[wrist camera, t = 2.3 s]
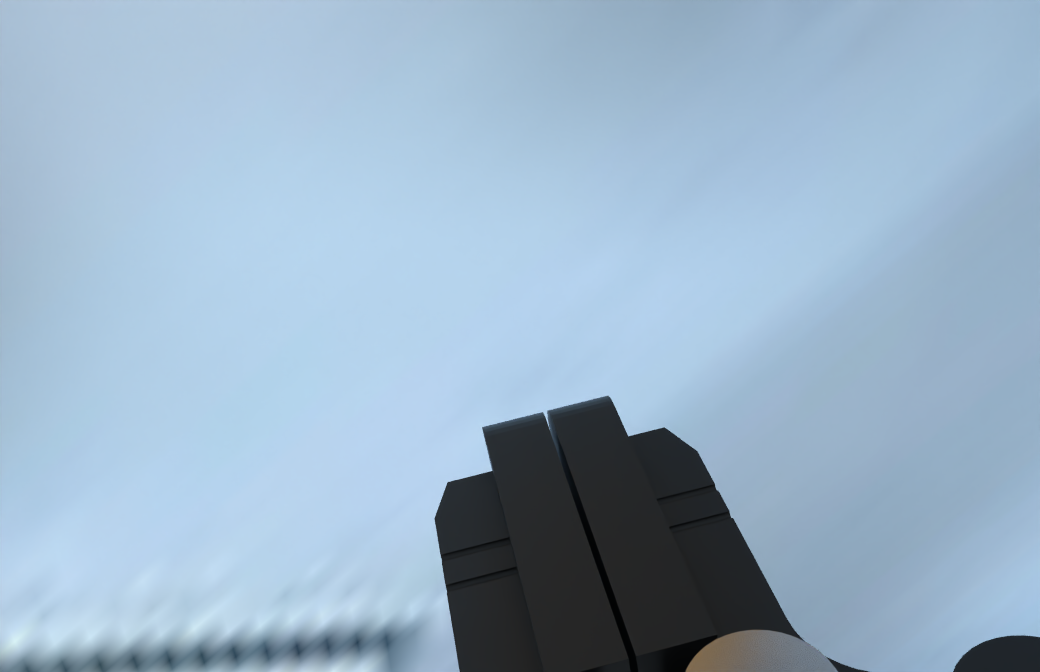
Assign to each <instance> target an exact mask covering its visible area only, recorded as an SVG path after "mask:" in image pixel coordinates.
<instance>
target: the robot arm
mask: <svg viewBox="0 0 1040 672" xmlns="http://www.w3.org/2000/svg"><path fill="white" fill-rule="evenodd" d="M547 414H548V422H549V427H548V424H547V421H546V418H545V416H544V414H543V412H542V413H538V414H534V415H530V416H526V417H522V418H517V419H513V420H509V421H505V422H501V423H497V424H493V425H489V426H485V427H482V429H483V433H484V437H485V442H486V446H487V450H488V454H489V458H490V463H491V467H492V471H491V472H487V473H483V474H479V475H475V476H471V477H467V478H463V479H459V480H455V481H451V482H448V483H447V486H446V488H445V491H444V494H443V497H442V499H441V502H440V505H439V508H438V510H437V513H436V516H435V524H436V530H437V536H438V542H439V548H440V554H441V558H442V566H443V572H444V578H445V584H446V588H447V597H448V603H449V609H450V615H451V621H452V627H453V633H454V639H455V645H456V651H457V657H458V663H459V669H460V672H868V671H863V670H858V669H855V668H852V667H849V666H846V665H843V664H840V663H838V662H836V661H834V660H832V659H830V658H827V657H826V656H824V655H823V654H822V653H821V652H820V651H819V650H817V649H816V648H814V647H813V646H811V645H810V644H808V643H807V642H805V641H804V640H803V639H802V638H801V637H800V636H799V635H798V634H797V633H796V632H795V630H794V629H793V628H792V626H791V624H790V623H789V621H788V620H787V618H786V616H785V614H784V613H783V611H782V609H781V607H780V605H779V603H778V601H777V599H776V598H775V596H774V594H773V592H772V590H771V588H770V586H769V584H768V583H767V581H766V579H765V577H764V575H763V573H762V571H761V570H760V568H759V566H758V564H757V562H756V560H755V558H754V556H753V555H752V553H751V551H750V549H749V547H748V545H747V543H746V542H745V540H744V538H743V536H742V534H741V532H740V530H739V528H738V527H737V525H736V523H735V521H734V519H733V518H731V516H730V513H729V510H728V508H727V506H726V504H725V502H724V500H723V499H722V497H721V495H720V493H719V491H717V490H716V488H715V484H714V482H713V480H712V478H711V476H710V474H709V472H708V470H707V469H706V467H705V465H704V463H703V461H702V459H701V457H700V456H699V454H698V452H697V451H696V450H695V449H693V448H692V447H691V446H689V445H688V444H686V443H685V442H684V441H682V440H681V439H680V438H678V437H677V436H676V435H674V434H673V433H671V432H670V431H669V430H667V429H666V428H665V427H664V428H660V429H656V430H652V431H648V432H644V433H640V434H636V435H633V436H629V437H628V435H627V433H626V431H625V428H624V426H623V424H622V422H621V419H620V417H619V415H618V413H617V411H616V408H615V406H614V404H613V402H612V400H611V398H610V397H609V396H605V397H601V398H597V399H593V400H589V401H585V402H581V403H577V404H573V405H569V406H565V407H561V408H557V409H553V410H549V411H548V412H547ZM549 428H550V430H549ZM953 672H1040V637H1033V636H1006V637H999V638H995V639H991V640H988V641H985V642H983V643H981V644H979V645H977V646H975V647H973V648H972V649H971V650H969V651H968V652H967V653H966V654H965V655H963V657H962V658H961V659H960V660H959V662H958V663H957V664H956V666H955V669H954V671H953Z"/></svg>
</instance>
